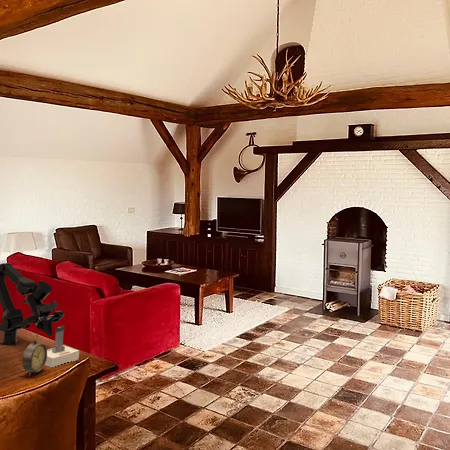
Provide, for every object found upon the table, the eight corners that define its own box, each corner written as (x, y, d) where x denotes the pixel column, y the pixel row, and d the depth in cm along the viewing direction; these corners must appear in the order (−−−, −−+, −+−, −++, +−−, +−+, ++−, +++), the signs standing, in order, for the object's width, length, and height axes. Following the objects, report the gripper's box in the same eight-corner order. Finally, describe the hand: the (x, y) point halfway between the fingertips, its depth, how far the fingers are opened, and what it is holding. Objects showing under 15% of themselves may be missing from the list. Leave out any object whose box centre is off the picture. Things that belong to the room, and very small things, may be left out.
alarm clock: (30, 379, 181) (33, 337, 180) (18, 377, 182) (21, 335, 182) (46, 369, 192) (49, 330, 191) (34, 367, 193) (37, 328, 192)
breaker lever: (53, 350, 202) (55, 326, 202) (59, 348, 205) (61, 325, 204) (57, 351, 201) (59, 327, 200) (63, 350, 204) (65, 326, 203)
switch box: (36, 361, 200) (37, 348, 199) (62, 354, 212) (63, 341, 211) (52, 367, 195) (53, 354, 194) (78, 359, 207) (79, 346, 206)
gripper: (27, 298, 199) (42, 329, 194) (63, 293, 215) (78, 321, 210) (14, 313, 204) (29, 344, 198) (50, 306, 220) (64, 335, 215)
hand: (51, 335), depth 205 cm, fingers closed
